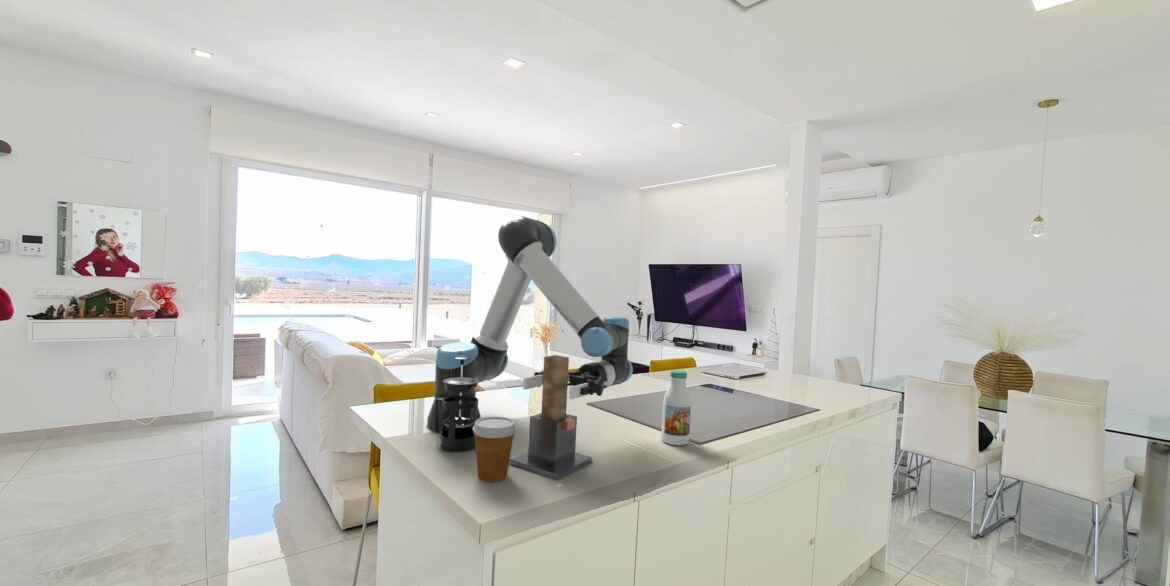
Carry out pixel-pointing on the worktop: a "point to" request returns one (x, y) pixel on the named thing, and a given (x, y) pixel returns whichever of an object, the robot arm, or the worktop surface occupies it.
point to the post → (555, 387)
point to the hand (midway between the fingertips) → (546, 388)
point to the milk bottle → (676, 410)
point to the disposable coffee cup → (493, 447)
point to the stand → (552, 448)
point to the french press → (459, 427)
